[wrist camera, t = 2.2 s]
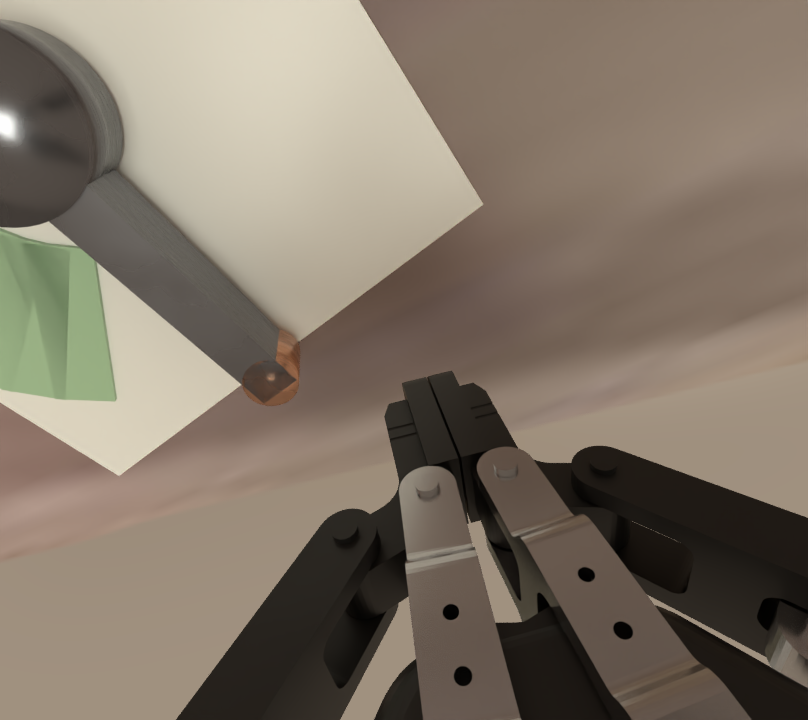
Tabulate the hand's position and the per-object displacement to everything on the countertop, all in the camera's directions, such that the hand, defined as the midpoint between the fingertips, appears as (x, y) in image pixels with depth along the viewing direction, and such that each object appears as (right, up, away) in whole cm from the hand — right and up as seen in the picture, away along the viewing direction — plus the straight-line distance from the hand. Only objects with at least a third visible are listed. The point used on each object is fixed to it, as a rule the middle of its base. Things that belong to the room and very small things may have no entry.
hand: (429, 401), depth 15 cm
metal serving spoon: (-9, +6, +3) cm, 11 cm away
